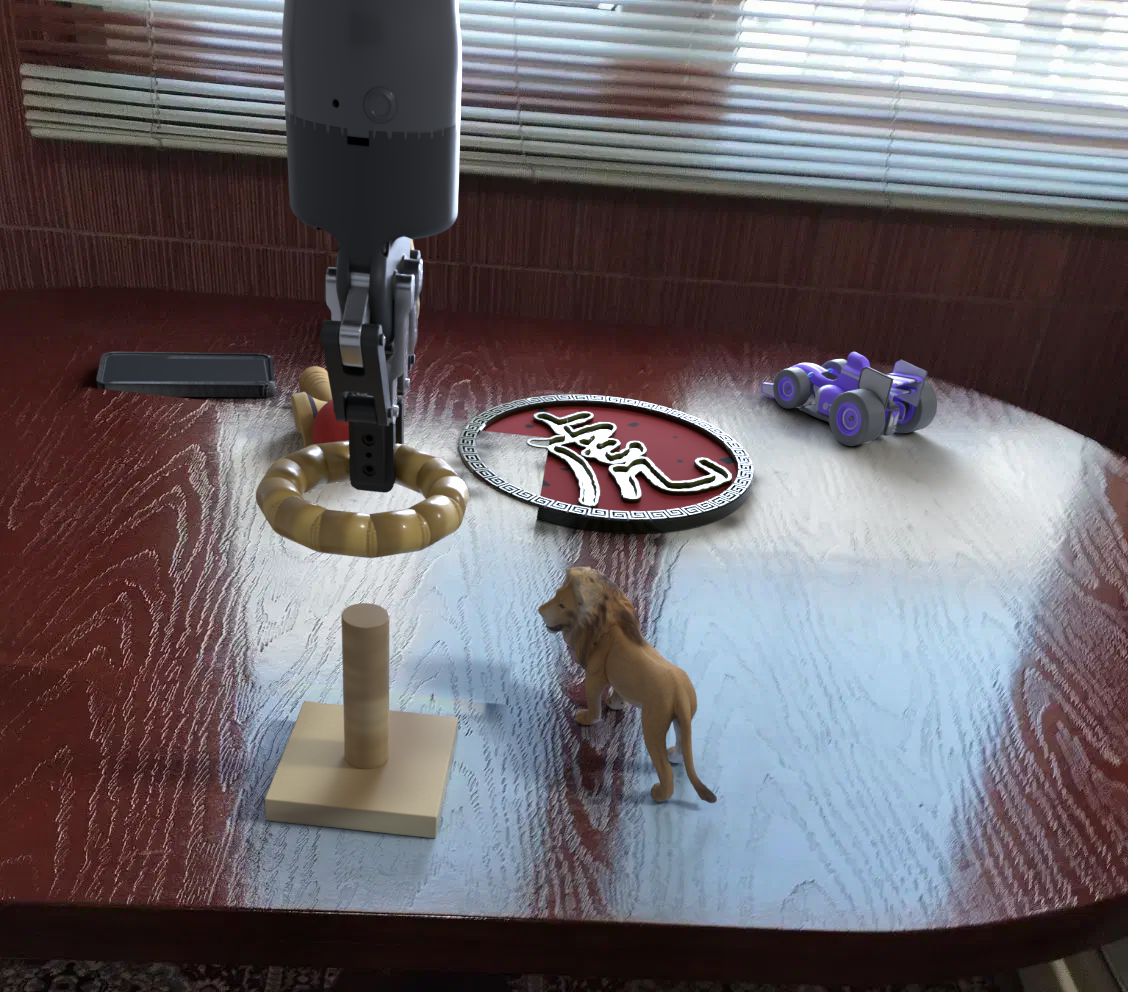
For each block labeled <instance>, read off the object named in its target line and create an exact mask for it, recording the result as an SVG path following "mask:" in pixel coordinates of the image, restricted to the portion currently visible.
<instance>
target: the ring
mask: <svg viewBox="0 0 1128 992" xmlns="http://www.w3.org/2000/svg"><path fill="white" fill-rule="evenodd" d="M395 476H396V480H395V483H394V485H399V486H401V487H403V488H406V489H408V490H411V491H414V492H416V493H419V494H420V495H422V497H423V498H424V499H423V500H421V501H420V502H417V503H415V504H413V505H411V506H410V507H408V508H404V509H397V510H389V511H380V512H375V513H364V512H363V513H362V512H355V511H345V510H336V509H329V508H326V507H324V506H322V505H319V504H316V503H314V502H311V501H310V500H307V499H304V496H303V495H304V494H306V493H308V492H310V491H312V490H314V489H317V488H319V487H321V486H323V485H328V484H335V483H344V482H350V463H349V441H340V442H331V443H322V444H314V445H310V446H308V447H305V448H304V447H303V448H301V449H298V450H296V451H293V452H291V453H289V454H287V455H284V456H282V457H280V458H277V459H276V460H274V461H273V462H272V463H271V464H270V466H269V467H268V469H267V470H266V472H265V474H264V476H263V477H262V479H261V481H260V482H259V483H258V485H257V487H256V490H255V502H256V504H257V506H258V508H259V509H260V512H261V513H262V515H263V516H264V518H265V519H266V521H267V523H268V525H269V526H270V528H271V529H272V531H273V532H275V533H276V534H277V535H278V536H280V537H282V538H284V539H286V540H289V541H291V542H294V543H296V544H298V545H301V546H303V547H305V548H307V549H310V550H312V551H314V552H316V553H319V554H320V553H321V554H325V555H326V554H327V555H337V556H347V557H353V558H354V557H355V558H356V557H357V558H364V559H376V558H383V557H389V556H396V555H402V554H408V553H415V552H421V551H423V550H425V549H427V548H429V547H431V546H432V545H434V544H436V543H438V542H440V541H441V540H443V539H445V538H446V537H448V536H450V535H452V534H454V533H455V532H456V531H457V530H458V529H459V528H460V527H461V525H462V523H463V520H464V517H465V513H466V510H467V507H468V504H469V499H470V493H469V489H468V486H467V484H466V483H465V481H464V480H463V479H462V478H461V477H460V476H459V475H458V474H457V472H456V471H455V470H454V469H453V468H452V467H451V465H450V464H448V462H447V461H446V460H445V459H443V458H440V457H439V456H435V455H433V454H430V453H428V452H426V451H423V450H420V449H418V448H415V447H412V446H409V445H407V444H404V445H403V444H396V471H395Z"/></svg>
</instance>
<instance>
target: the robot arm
mask: <svg viewBox="0 0 1128 992" xmlns="http://www.w3.org/2000/svg"><path fill="white" fill-rule="evenodd" d="M283 5H284V6H283V14H282V15H283V16H282V29H281V54H282V55H281V56H282V57H281V58H282V72H283V73H282V75H283V93H284V114H285V116H284V117H285V134H286V136H285V137H286V154H287V156H286V157H287V175H288V176H287V177H288V195H289V207H290V209H291V212H292V214H293V215H294V217H296V219H297V220H299V221H300V222H301V223H302V224H304V225H306V226H308V227H309V228H312V229H314V230H316V231H321V230H323V231H324V232H327V233H328V234H329V235H331V236H332V237H334V239H336V240H337V247H338V248H337V249H338V250H337V253H336V267H335V266H334V267H333V266H328V267H326V272H325V303H326V306H327V308H328V309H329V310H330V314H331V315H330V316H331V317H330V318H331V319H324V320H323V322H322V327H321V328H320V331H319V336H320V337H319V339H320V341H321V344H322V350H323V355H324V360H325V366H326V371H327V372H328V378H329V383H330V389H331V394H332V400H333V406H334V413H335V417H336V420H337V421H342V422H347V421H348V423H349V463H350V481H349V483H350V485H351V487H352V488H354V489H355V490H357V491H363V492H374V493H384V494H385V493H388V492H391V491H392V490H393V488H394V486H395V480H396V476H395V471H396V444H403V445H405V397H407V394H408V390H410V388H411V380H410V378H409V372H412V370H413V366H414V365H415V364H416V354H414V353H415V348H416V345H417V342H418V339H419V338H418V336H419V332H418V331H419V329H418V328H419V326H418V325H419V322H418V321H419V320H418V319H419V316H418V297H419V298H420V294H421V291H422V288H423V284H424V283H423V280H424V279H423V275H424V273H423V272H424V271H423V269H424V267H423V258H422V257H421V251H420V250H419V249H414V250H410V246H411V241H410V239H413V240H417V239H423V238H428V237H429V238H430V237H433V236H436V235H439V234H441V233H444V232H445V231H447V230H448V229H450V228H451V227H452V226H453V225H454V223H455V222H456V220H457V219H458V215H459V187H460V186H459V185H460V184H459V183H460V152H461V151H460V150H461V148H460V147H461V146H460V145H461V142H460V141H461V113H462V112H461V111H462V110H461V108H462V107H461V106H462V77H463V75H462V74H463V59H462V58H463V49H462V48H463V47H462V34H461V23H460V14H459V12H460V11H459V0H284V1H283ZM357 393H366V394H361V395H359V394H357Z"/></svg>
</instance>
